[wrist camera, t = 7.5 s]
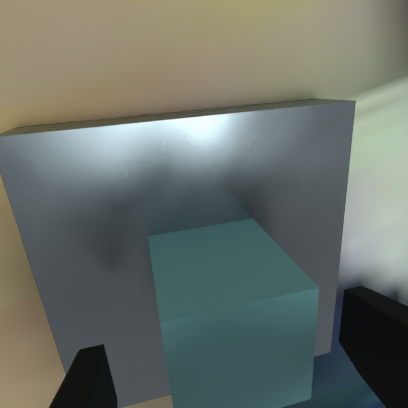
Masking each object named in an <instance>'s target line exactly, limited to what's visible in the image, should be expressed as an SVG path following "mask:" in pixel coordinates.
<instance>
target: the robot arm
mask: <svg viewBox="0 0 408 408" xmlns="http://www.w3.org/2000/svg"><path fill="white" fill-rule="evenodd" d="M339 342H340V344H341V346H342V347H343V349H344V350H345V352H346V354H347V355H348V357H349V359H350V360H351V362H352V363H353V365H354V366H355V368H356V369H357V371H358V372H359V374H360V375H361V376H362V378H363V379H364V380H365V382H366V383H367V384H368V385H369V387H370V388H371V389H372V390H373V392H374V393H375V394H376V396H377V397H378V398H379V399H380V401H381V402H382V403H383V404H384V405H385V407H386V408H408V306H406V305H403V304H401V303H399V302H397V301H395V300H393V299H391V298H388V297H386V296H384V295H382V294H380V293H377V292H375V291H373V290H370V289H368V288H366V287H363V286H360V287H355V288H351V289H346V290H344V299H343V308H342V317H341V326H340V335H339ZM49 408H118V407H117V395H116V391H115V387H114V383H113V379H112V375H111V371H110V367H109V363H108V359H107V355H106V351H105V347H104V344H102V345H97V346H93V347H88V348H84V349H80V350H79V351H78V352H77V354H76V356H75V358H74V360H73V362H72V364H71V366H70V368H69V370H68V372H67V374H66V376H65V378H64V380H63V382H62V384H61V386H60V388H59V390H58V392H57V393H56V395H55V397H54V399H53V401H52V403H51V405H50V406H49Z"/></svg>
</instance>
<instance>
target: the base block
mask: <svg viewBox="0 0 408 408" xmlns="http://www.w3.org/2000/svg"><path fill="white" fill-rule="evenodd" d="M355 103H356V101H348V100H331V99H308V100H297V101H287V102H276V103H266V104H256V105H245V106H235V107H224V108H214V109H204V110H193V111H183V112H172V113H162V114H152V115H141V116H131V117H120V118H110V119H100V120H89V121H79V122H68V123H58V124H48V125H37V126H27V127H17V128H14V129H11V130H9V131H6V132H3V133H1V134H0V173H1V176H2V180H3V183H4V186H5V189H6V192H7V195H8V198H9V201H10V204H11V207H12V210H13V213H14V216H15V220H16V223H17V226H18V229H19V232H20V235H21V238H22V241H23V244H24V247H25V250H26V253H27V256H28V260H29V263H30V266H31V269H32V272H33V275H34V278H35V281H36V284H37V287H38V290H39V293H40V297H41V300H42V303H43V306H44V309H45V312H46V315H47V318H48V321H49V324H50V327H51V330H52V333H53V337H54V340H55V343H56V346H57V349H58V352H59V355H60V358H61V361H62V364H63V367H64V370H65V373H66V374H67V372H68V370H69V368H70V366H71V364H72V362H73V360H74V358H75V356H76V354H77V352H78V351H79V350H80V349H84V348H88V347H93V346H97V345H102V344H104V347H105V351H106V355H107V359H108V363H109V367H110V371H111V375H112V379H113V383H114V387H115V391H116V395H117V407H118V408H121V407H125V406H129V405H132V404H136V403H140V402H144V401H148V400H151V399H155V398H159V397H163V396H167V395H170V394H171V388H170V382H169V376H168V370H167V363H166V357H165V351H164V345H163V339H162V333H161V326H160V320H159V313H158V305H157V298H156V291H155V284H154V277H153V270H152V263H151V255H150V248H149V241H148V236H152V235H158V234H164V233H170V232H176V231H182V230H188V229H194V228H200V227H205V226H211V225H217V224H223V223H229V222H235V221H241V220H247V219H254V220H255V221H256V222H257V223H258V224H259V225H260V226H261V227H262V229H263V230H264V231H265V232H266V233H267V234H268V235H269V236H270V237H271V238H272V239H273V240H274V241H275V242H276V243H277V244H278V245H279V246H280V247H281V248H282V249H283V250H284V252H285V253H286V254H287V255H288V256H289V257H290V258H291V259H292V260H293V261H294V262H295V263H296V264H297V265H298V266H299V267H300V268H301V269H302V270H303V271H304V272H305V273H306V275H307V276H308V277H309V278H310V279H311V280H312V281H313V282H314V283H315V284H316V285H317V286H318V287H319V295H318V309H317V323H316V336H315V350H314V356H318V355H322V354H325V353H329V352H330V350H331V340H332V331H333V321H334V311H335V301H336V291H337V281H338V271H339V261H340V251H341V241H342V232H343V222H344V212H345V202H346V192H347V182H348V172H349V162H350V152H351V142H352V133H353V123H354V113H355Z"/></svg>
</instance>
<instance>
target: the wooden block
mask: <svg viewBox="0 0 408 408" xmlns="http://www.w3.org/2000/svg"><path fill="white" fill-rule="evenodd" d="M148 241H149V248H150V255H151V263H152V270H153V277H154V284H155V291H156V298H157V305H158V313H159V320H160V326H161V333H162V339H163V345H164V351H165V357H166V363H167V370H168V376H169V382H170V388H171V394H172V401H173V407H174V408H281V407H285V406H288V405H292V404H295V403H298V402H302V401H305V400H309V399H311V391H312V377H313V364H314V350H315V336H316V323H317V309H318V295H319V287H318V286H317V285H316V284H315V283H314V282H313V281H312V280H311V279H310V278H309V277H308V276H307V275H306V273H305V272H304V271H303V270H302V269H301V268H300V267H299V266H298V265H297V264H296V263H295V262H294V261H293V260H292V259H291V258H290V257H289V256H288V255H287V254H286V253H285V252H284V250H283V249H282V248H281V247H280V246H279V245H278V244H277V243H276V242H275V241H274V240H273V239H272V238H271V237H270V236H269V235H268V234H267V233H266V232H265V231H264V230H263V229H262V227H261V226H260V225H259V224H258V223H257V222H256V221H255V220H254V219H247V220H241V221H235V222H229V223H223V224H217V225H211V226H205V227H200V228H194V229H188V230H182V231H176V232H170V233H164V234H158V235H152V236H148Z"/></svg>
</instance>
